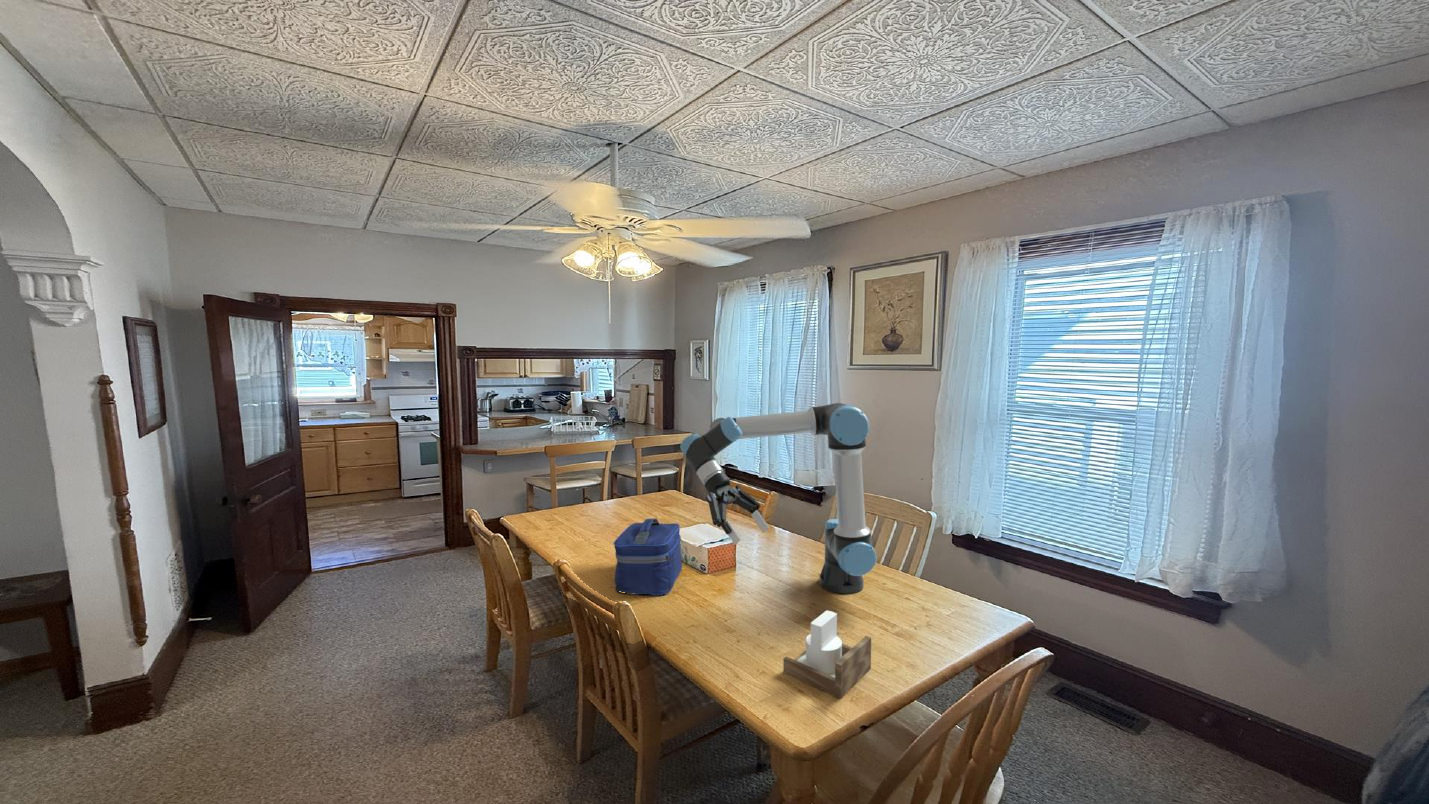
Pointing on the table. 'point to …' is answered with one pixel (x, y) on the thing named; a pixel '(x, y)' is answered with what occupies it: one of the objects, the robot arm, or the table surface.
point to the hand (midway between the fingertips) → (752, 536)
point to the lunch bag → (648, 558)
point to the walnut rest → (846, 669)
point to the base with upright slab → (823, 643)
